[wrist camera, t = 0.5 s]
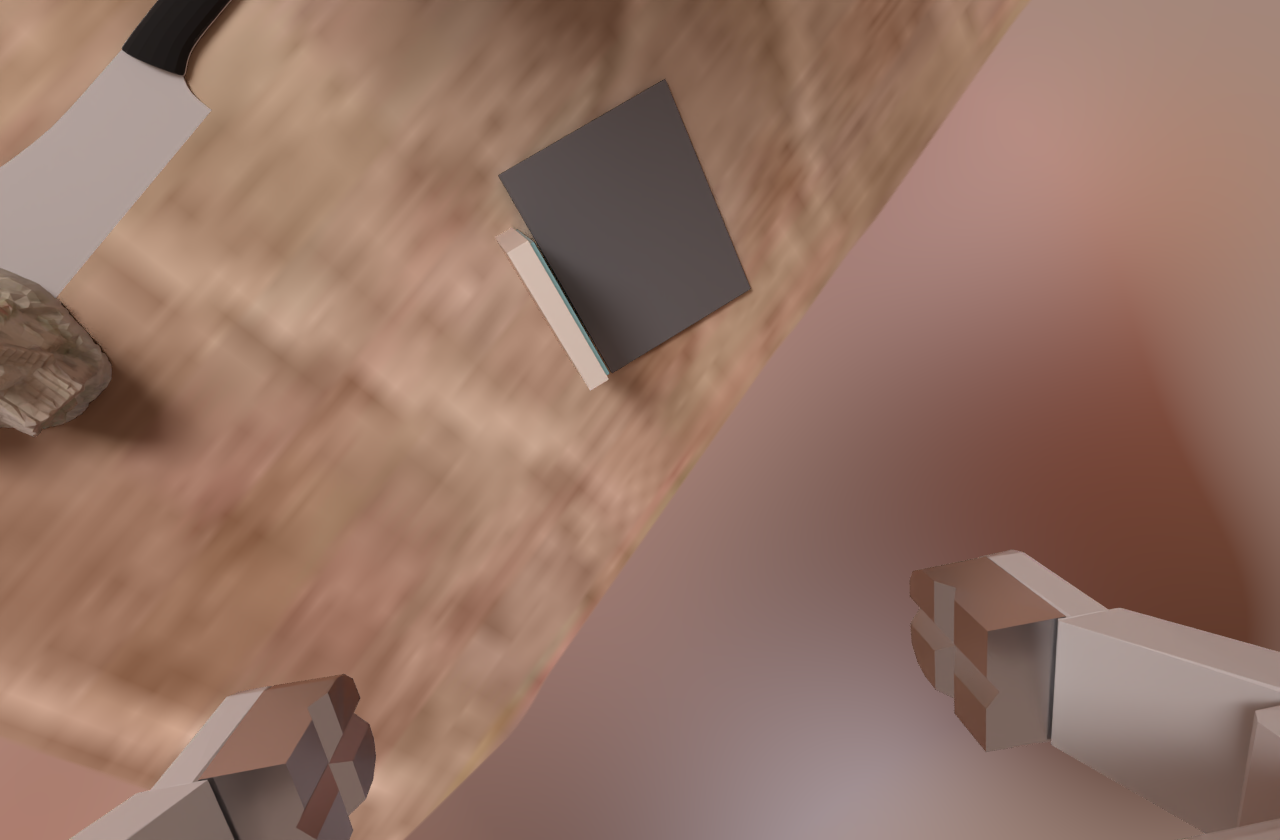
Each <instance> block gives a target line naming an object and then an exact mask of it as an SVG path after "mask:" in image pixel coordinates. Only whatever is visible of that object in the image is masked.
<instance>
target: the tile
mask: <svg viewBox="0 0 1280 840" xmlns="http://www.w3.org/2000/svg"><path fill="white" fill-rule="evenodd" d="M495 239H496V241H497V242H498V244H499V246H500V247H501V249H502V251H503V252H504V254H505V255H506V257H507V259H508V260H509V262H510V264H511V265H512V267H513V269H514V270H515V272H516V274H517V275H518V277H519V279H520V280H521V282H522V283H523V285H524V287H525V288H526V290H527V292H528V293H529V295H530V297H531V298H532V300H533V302H534V303H535V305H536V306H537V308H538V310H539V311H540V313H541V315H542V316H543V318H544V320H545V321H546V323H547V325H548V326H549V328H550V329H551V331H552V333H553V334H554V336H555V338H556V339H557V341H558V343H559V344H560V346H561V348H562V349H563V351H564V352H565V354H566V356H567V357H568V358H569V360H570V361H571V363H572V364H573V366H574V367H575V369H576V370H577V372H578V373H579V375H580V376H581V378H582V379H583V381H584V382H585V384H586V385H587V387H588V388H589V390H590V391H591V390H592V389H594V388H595V387H597V386H599V385H600V384H602V383H604V382H605V381H607V380H609V379H608V377H607V375H608V374H610V373H609V372H608V370H607V368H606V366H605V365H604V363H603V361H602V359H601V358H600V356H599V354H598V353H597V351H596V349H595V347H594V346H593V344H592V342H591V340H590V339H589V337H588V335H587V333H586V332H585V330H584V328H583V327H582V325H581V323H580V321H579V320H578V318H577V316H576V314H575V313H574V311H573V309H572V307H571V306H570V304H569V302H568V301H567V299H566V297H565V295H564V294H563V292H562V290H561V288H560V287H559V285H558V283H557V281H556V280H555V278H554V276H553V275H552V273H551V271H550V269H549V268H548V266H547V264H546V262H545V261H544V259H543V257H542V255H541V254H540V252H539V250H538V249H537V247H536V245H535V243H534V242H533V241H532V240H531V239H529V238H528V237H527V236H525V235H524V234H523V233H521V232H520V231H519V230H518V229H516V230H514V229H513V228H512V227H511V228H510V229H508V230H506V231H505V232H503V233H501V234H499V235H498V236H496V237H495Z"/></svg>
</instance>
